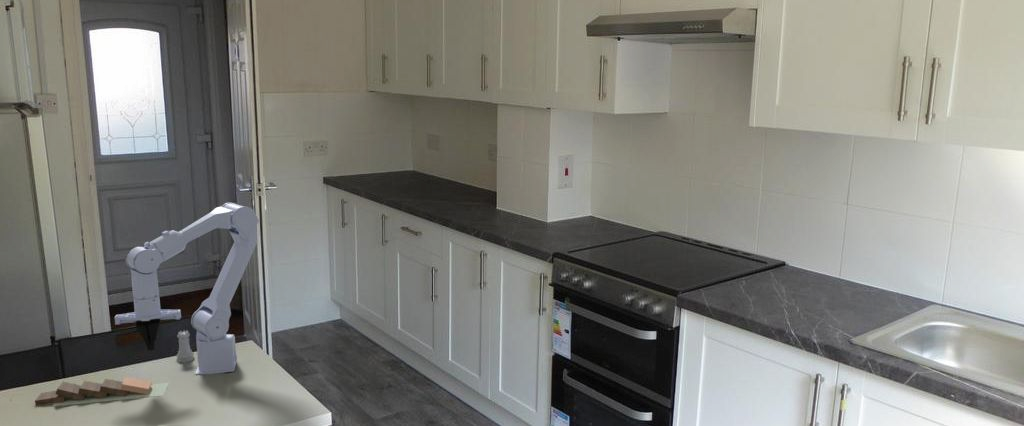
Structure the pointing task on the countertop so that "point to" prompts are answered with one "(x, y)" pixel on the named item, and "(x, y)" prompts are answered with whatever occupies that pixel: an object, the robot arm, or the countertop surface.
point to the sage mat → (118, 396)
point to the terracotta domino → (136, 385)
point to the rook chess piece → (184, 347)
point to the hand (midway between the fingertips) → (151, 348)
